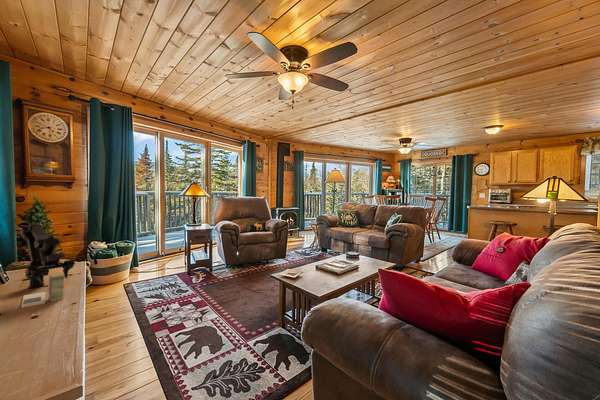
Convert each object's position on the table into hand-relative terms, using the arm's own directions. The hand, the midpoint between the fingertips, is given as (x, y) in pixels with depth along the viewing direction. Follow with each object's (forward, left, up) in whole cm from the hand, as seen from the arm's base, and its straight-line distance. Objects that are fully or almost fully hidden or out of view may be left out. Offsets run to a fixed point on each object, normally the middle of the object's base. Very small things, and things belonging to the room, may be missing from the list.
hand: (55, 280), depth 132 cm
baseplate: (-2, -7, -10) cm, 12 cm away
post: (+2, +1, -10) cm, 10 cm away
